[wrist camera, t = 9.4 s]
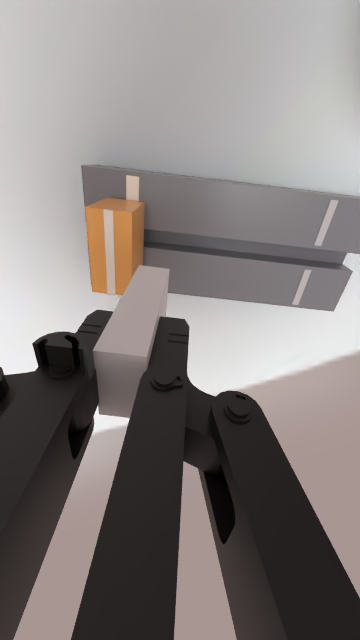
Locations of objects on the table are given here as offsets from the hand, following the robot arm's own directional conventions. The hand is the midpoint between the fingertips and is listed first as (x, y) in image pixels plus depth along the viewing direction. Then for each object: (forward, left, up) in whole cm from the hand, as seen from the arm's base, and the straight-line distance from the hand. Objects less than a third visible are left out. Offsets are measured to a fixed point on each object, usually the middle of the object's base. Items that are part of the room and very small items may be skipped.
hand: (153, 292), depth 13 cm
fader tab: (0, -4, -13) cm, 13 cm away
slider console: (0, +5, -14) cm, 15 cm away
